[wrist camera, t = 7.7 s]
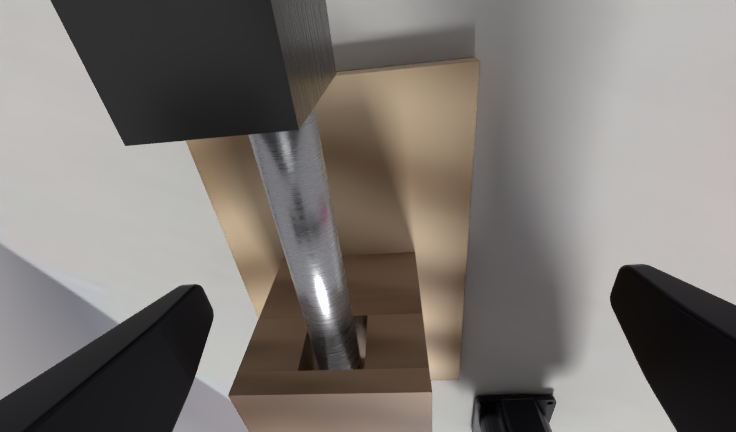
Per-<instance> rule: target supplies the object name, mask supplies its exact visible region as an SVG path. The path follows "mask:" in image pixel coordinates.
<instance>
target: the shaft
mask: <svg viewBox="0 0 736 432" xmlns="http://www.w3.org/2000/svg"><path fill="white" fill-rule="evenodd" d="M51 2H52V4H53V6H54V8H55V10H56V12H57V14H58V16H59V17H60V19H61V21H62V23H63V25H64V27H65V29H66V31H67V33H68V35H69V37H70V39H71V41H72V43H73V45H74V47H75V49H76V51H77V53H78V55H79V57H80V58H81V60H82V62H83V64H84V66H85V68H86V70H87V72H88V74H89V76H90V78H91V80H92V82H93V84H94V86H95V88H96V90H97V92H98V94H99V96H100V98H101V99H102V101H103V103H104V105H105V107H106V109H107V111H108V113H109V115H110V117H111V119H112V121H113V123H114V125H115V127H116V129H117V131H118V133H119V135H120V137H121V139H122V140H123V142H124V144H125V146H129V145H140V144H151V143H162V142H173V141H184V140H195V139H206V138H217V137H228V136H239V135H249V138H250V142H251V145H252V148H253V152H254V155H255V158H256V162H257V165H258V168H259V172H260V175H261V178H262V181H263V185H264V188H265V191H266V195H267V198H268V201H269V205H270V208H271V211H272V215H273V218H274V221H275V224H276V228H277V231H278V234H279V238H280V241H281V244H282V248H283V251H284V254H285V258H286V261H287V264H288V267H289V271H290V274H291V277H292V281H293V284H294V287H295V291H296V294H297V297H298V301H299V304H300V307H301V310H302V314H303V317H304V320H305V324H306V327H307V330H308V334H309V337H310V340H311V344H312V347H313V350H314V353H315V357H316V360H317V363H318V367H319V370H356V369H363V366H362V360H361V355H360V350H359V344H358V339H357V334H356V328H355V323H354V317H353V312H352V307H351V301H350V296H349V291H348V285H347V280H346V275H345V269H344V264H343V259H342V253H341V248H340V242H339V237H338V232H337V226H336V221H335V216H334V210H333V205H332V200H331V194H330V189H329V183H328V178H327V173H326V167H325V162H324V157H323V151H322V146H321V141H320V135H319V130H318V125H317V119H316V114H315V108H314V107H315V105H316V104H317V102H318V101H319V99H320V98H321V96H322V95H323V93H324V92H325V90H326V89H327V87H328V86H329V84H330V83H331V81H332V80H333V78H334V77H335V75H336V69H335V62H334V56H333V49H332V42H331V35H330V28H329V21H328V14H327V7H326V0H51Z"/></svg>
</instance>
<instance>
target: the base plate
mask: <svg viewBox="0 0 736 432" xmlns="http://www.w3.org/2000/svg"><path fill="white" fill-rule="evenodd" d="M479 70H480V60H478V59H476V58H465V59H456V60H446V61H437V62H427V63H418V64H408V65H399V66H390V67H380V68H371V69H361V70H352V71H342V72H336V75H335V77H334V78H333V80H332V81H331V83H330V84H329V86H328V87H327V89H326V90H325V92H324V93H323V95H322V96H321V98H320V99H319V101H318V102H317V104H316V105H315V107H314V108H315V114H316V119H317V125H318V130H319V135H320V141H321V146H322V151H323V157H324V162H325V167H326V173H327V178H328V183H329V189H330V194H331V200H332V205H333V210H334V216H335V221H336V226H337V232H338V237H339V242H340V248H341V253H342V256H348V255H366V254H385V253H403V252H415V255H416V263H417V271H418V280H419V288H420V296H421V305H422V313H423V321H424V330H425V338H426V347H427V355H428V363H429V372H430V380H431V381H434V380H459V367H460V353H461V338H462V323H463V308H464V293H465V278H466V263H467V248H468V234H469V219H470V204H471V189H472V174H473V159H474V144H475V129H476V114H477V100H478V85H479ZM186 142H187V145H188V147H189V150H190V152H191V154H192V157H193V159H194V162H195V164H196V167H197V169H198V172H199V174H200V177H201V179H202V181H203V184H204V186H205V189H206V191H207V194H208V196H209V199H210V201H211V204H212V206H213V208H214V211H215V213H216V216H217V218H218V221H219V223H220V226H221V228H222V230H223V233H224V235H225V238H226V240H227V243H228V245H229V248H230V250H231V253H232V255H233V257H234V260H235V262H236V265H237V267H238V270H239V272H240V275H241V277H242V279H243V282H244V284H245V287H246V289H247V292H248V294H249V297H250V299H251V302H252V304H253V306H254V309H255V311H256V314H257V316H258V319H259V317H260V314H261V312H262V309H263V307H264V304H265V302H266V299H267V297H268V294H269V292H270V289H271V287H272V284H273V282H274V279H275V277H276V274H277V272H278V269H279V267H280V264H281V262H282V259H286V258H285V254H284V251H283V248H282V244H281V241H280V238H279V234H278V231H277V228H276V224H275V221H274V218H273V215H272V211H271V208H270V205H269V201H268V198H267V195H266V191H265V188H264V185H263V181H262V178H261V175H260V172H259V168H258V165H257V162H256V158H255V155H254V152H253V148H252V145H251V142H250V138H249V135H239V136H228V137H217V138H206V139H195V140H186Z"/></svg>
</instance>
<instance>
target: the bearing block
mask: <svg viewBox="0 0 736 432" xmlns="http://www.w3.org/2000/svg"><path fill="white" fill-rule="evenodd" d="M342 259H343V264H344V269H345V275H346V280H347V285H348V291H349V296H350V301H351V307H352V312H353V317H354V323H355V328H356V334H357V339H358V344H359V350H360V355H361V360H362V366H365V369H356V370H319V367H318V363H317V360H316V357H315V353H314V350H313V347H312V344H311V340H310V337H309V334H308V330H307V327H306V324H305V320H304V317H303V314H302V310H301V307H300V304H299V301H298V297H297V294H296V291H295V287H294V284H293V281H292V277H291V274H290V271H289V267H288V264H287V261H286V259H282V262H281V264H280V267H279V269H278V272H277V274H276V277H275V279H274V282H273V284H272V287H271V289H270V292H269V294H268V297H267V299H266V302H265V304H264V307H263V309H262V312H261V314H260V317H259V320H258V322H257V325H256V327H255V330H254V332H253V335H252V337H251V340H250V342H249V345H248V347H247V350H246V352H245V355H244V357H243V360H242V362H241V365H240V367H239V370H238V372H237V375H236V377H235V380H234V382H233V385H232V387H231V390H230V392H229V395H228V396H229V398H230V400H231V401H232V403H233V405H234V406H235V408H236V410H237V412H238V413H239V415H240V417H241V418H242V420H243V422H244V424H245V425H246V427H247V429H248V430H249V432H432V388H431V380H430V372H429V363H428V355H427V347H426V338H425V330H424V321H423V313H422V305H421V296H420V288H419V280H418V271H417V263H416V255H415V252H403V253H385V254H366V255H348V256H342Z"/></svg>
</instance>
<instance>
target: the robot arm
mask: <svg viewBox="0 0 736 432" xmlns="http://www.w3.org/2000/svg"><path fill="white" fill-rule="evenodd" d="M610 302H611V306H612V308H613V311H614V313H615V315H616V317H617V319H618V321H619V323H620V325H621V328H622V330H623V332H624V334H625V336H626V338H627V340H628V343H629V345H630V347H631V349H632V351H633V353H634V355H635V357H636V360H637V362H638V364H639V366H640V368H641V370H642V372H643V374H644V376H645V378H646V380H647V381H648V383H649V385H650V387H651V388H652V390H653V392H654V394H655V395H656V397H657V399H658V400H659V402H660V404H661V405H662V407H663V409H664V410H665V412H666V414H667V415H668V417H669V419H670V420H671V422H672V424H673V425H674V427H675V429H676V430H677V432H736V305H734V304H732V303H730V302H727V301H725V300H723V299H721V298H719V297H717V296H714V295H712V294H710V293H708V292H706V291H704V290H701V289H699V288H697V287H695V286H693V285H691V284H688V283H686V282H684V281H682V280H680V279H678V278H675V277H673V276H671V275H669V274H667V273H665V272H662V271H660V270H658V269H656V268H654V267H652V266H649V265H646V264H635V265H624V266H622V267H621V268H620V269H619V271H618V274H617V277H616V280H615V283H614V286H613V289H612V292H611V295H610ZM212 322H213V309H212V307H211V304H210V302H209V300H208V298H207V296H206V294H205V292H204V290H203V288H202V287H201V286H200V285H197V284H193V285H181V286H179V287H177V288H176V289H174V290H172V291H171V292H169V293H168V294H166V295H165V296H163V297H161V298H160V299H158V300H157V301H155V302H154V303H152V304H150V305H149V306H147V307H146V308H144V309H143V310H141V311H139V312H138V313H136V314H135V315H133V316H132V317H130V318H128V319H127V320H125V321H124V322H122V323H121V324H119V325H117V326H116V327H114V328H113V329H111V330H110V331H108V332H107V333H105V334H103V335H102V336H100V337H99V338H97V339H96V340H94V341H92V342H91V343H89V344H88V345H86V346H85V347H83V348H81V349H80V350H78V351H77V352H75V353H74V354H72V355H70V356H69V357H67V358H66V359H64V360H62V361H61V362H60V363H58V364H56V365H55V366H53V367H52V368H50V369H48V370H47V371H45V372H44V373H42V374H40V375H39V376H37V377H36V378H34V379H33V380H31V381H30V382H28V383H26V384H25V385H23V386H22V387H20V388H18V389H17V390H16V391H14V392H12V393H11V394H9V395H8V396H6V397H4V398H3V399H1V400H0V432H172V431H173V429H174V426H175V424H176V422H177V419H178V417H179V415H180V412H181V410H182V408H183V405H184V403H185V401H186V398H187V396H188V394H189V391H190V389H191V386H192V383H193V381H194V378H195V375H196V372H197V369H198V366H199V363H200V359H201V356H202V353H203V350H204V347H205V344H206V341H207V337H208V334H209V331H210V328H211V325H212ZM555 405H556V400H555V398H554V396H552V395H522V396H479V397H477V398H476V401H475V409H474V417H473V426H472V432H552V430H551V428H550V425H549V422H550V419H551V416H552V413H553V411H554V408H555Z"/></svg>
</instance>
